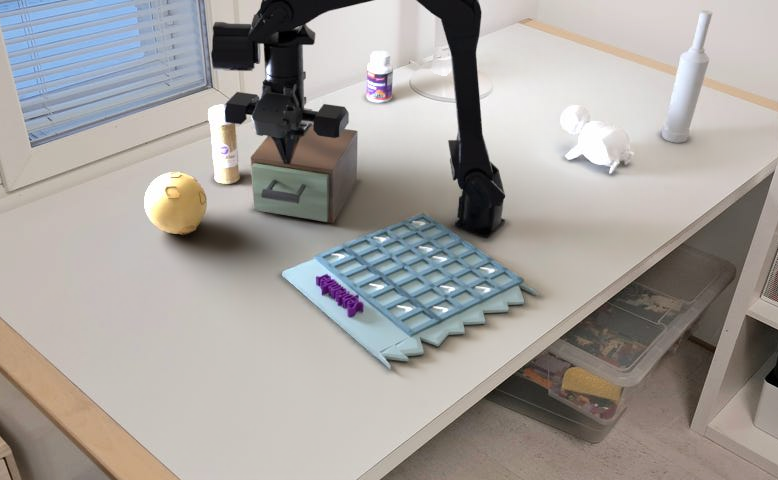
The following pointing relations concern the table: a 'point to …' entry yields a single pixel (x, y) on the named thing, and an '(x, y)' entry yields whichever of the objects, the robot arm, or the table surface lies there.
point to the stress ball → (175, 203)
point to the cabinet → (320, 162)
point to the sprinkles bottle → (223, 147)
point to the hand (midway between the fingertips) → (287, 163)
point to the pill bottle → (379, 77)
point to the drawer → (291, 191)
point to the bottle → (687, 85)
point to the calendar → (407, 287)
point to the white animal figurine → (596, 138)
